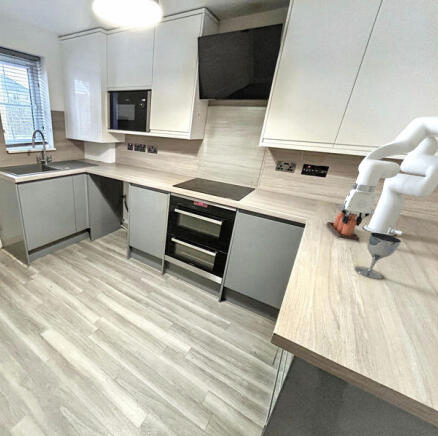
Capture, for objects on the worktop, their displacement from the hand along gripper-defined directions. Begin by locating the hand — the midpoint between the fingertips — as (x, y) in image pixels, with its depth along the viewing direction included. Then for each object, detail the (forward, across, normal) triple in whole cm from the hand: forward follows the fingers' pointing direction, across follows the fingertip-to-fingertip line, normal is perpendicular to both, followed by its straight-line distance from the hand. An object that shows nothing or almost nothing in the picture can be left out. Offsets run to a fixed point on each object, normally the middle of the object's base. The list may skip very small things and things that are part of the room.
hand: (350, 223), depth 117 cm
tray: (+7, 0, +6) cm, 9 cm away
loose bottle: (+6, 0, 0) cm, 6 cm away
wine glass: (+8, -4, -37) cm, 38 cm away
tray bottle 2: (+7, 0, +6) cm, 9 cm away
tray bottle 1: (+7, 0, +12) cm, 14 cm away
